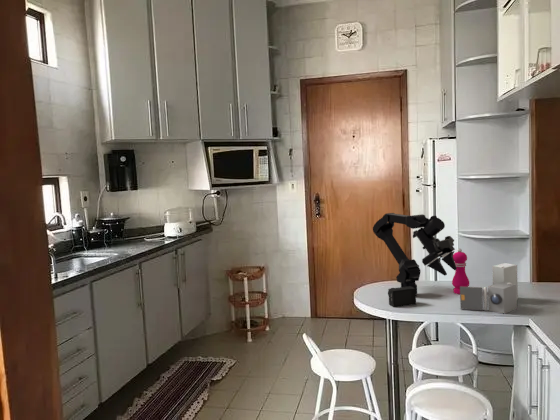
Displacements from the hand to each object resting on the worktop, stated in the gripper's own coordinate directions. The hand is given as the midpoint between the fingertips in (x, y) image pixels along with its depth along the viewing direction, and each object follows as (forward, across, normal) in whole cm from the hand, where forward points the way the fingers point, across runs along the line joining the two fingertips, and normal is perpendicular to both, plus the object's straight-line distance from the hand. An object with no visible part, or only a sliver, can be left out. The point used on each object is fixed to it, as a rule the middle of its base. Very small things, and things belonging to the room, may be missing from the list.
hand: (451, 272), depth 188 cm
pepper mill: (+9, +18, +12) cm, 23 cm away
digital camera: (+1, -12, +21) cm, 24 cm away
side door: (+16, -5, -1) cm, 17 cm away
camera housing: (+22, +2, -8) cm, 23 cm away
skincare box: (+20, +15, -4) cm, 26 cm away
